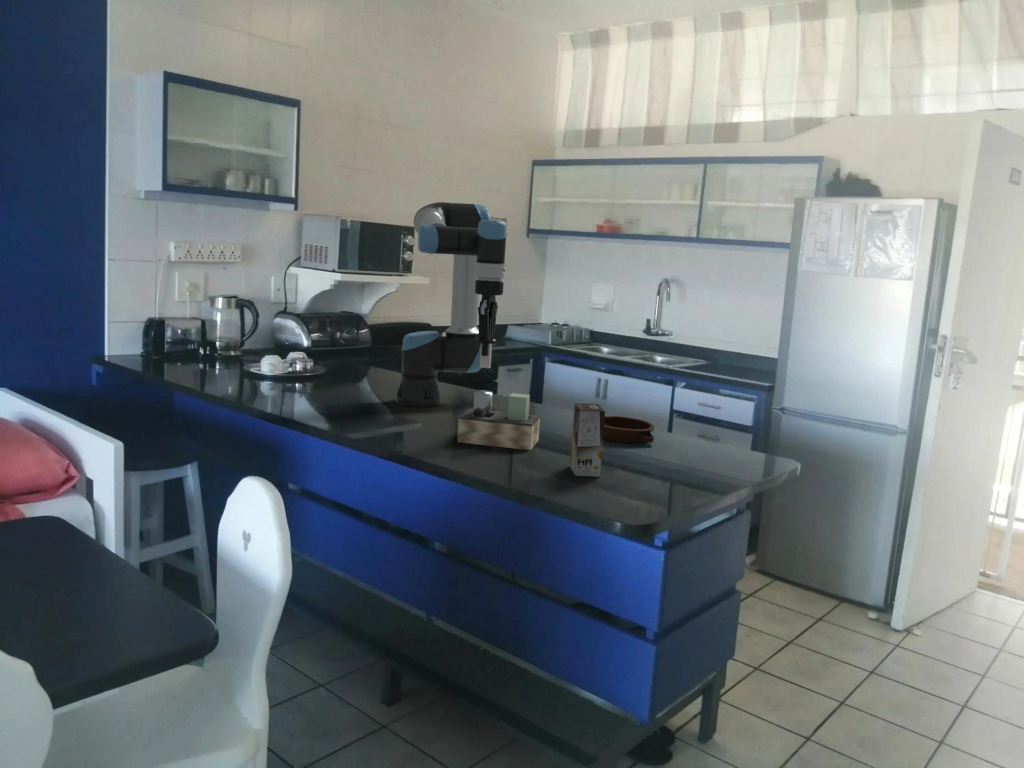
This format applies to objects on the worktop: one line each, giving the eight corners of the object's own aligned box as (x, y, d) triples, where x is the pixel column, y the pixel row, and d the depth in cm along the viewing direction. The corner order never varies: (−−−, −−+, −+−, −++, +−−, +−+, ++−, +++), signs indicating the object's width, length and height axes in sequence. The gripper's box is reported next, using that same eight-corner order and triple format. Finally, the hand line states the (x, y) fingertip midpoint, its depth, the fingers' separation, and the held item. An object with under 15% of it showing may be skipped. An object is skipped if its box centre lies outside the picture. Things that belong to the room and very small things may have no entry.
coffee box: (601, 477, 197) (606, 411, 194) (574, 476, 197) (579, 410, 194) (594, 466, 206) (599, 403, 203) (568, 465, 206) (573, 402, 203)
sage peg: (507, 421, 222) (508, 396, 221) (511, 418, 227) (512, 393, 226) (524, 423, 221) (526, 397, 220) (528, 419, 226) (529, 394, 225)
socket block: (457, 442, 222) (458, 416, 221) (469, 432, 234) (470, 408, 233) (530, 450, 218) (532, 424, 217) (538, 440, 230) (540, 415, 229)
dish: (631, 451, 225) (633, 433, 224) (572, 434, 240) (573, 417, 240) (670, 443, 236) (672, 426, 235) (611, 427, 252) (613, 411, 251)
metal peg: (471, 418, 224) (472, 392, 223) (475, 414, 229) (476, 389, 228) (488, 419, 223) (490, 394, 222) (493, 416, 228) (494, 391, 227)
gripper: (497, 281, 213) (493, 371, 216) (508, 280, 225) (503, 365, 229) (469, 279, 214) (465, 369, 218) (481, 278, 227) (477, 363, 230)
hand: (485, 367), depth 223 cm, fingers closed
